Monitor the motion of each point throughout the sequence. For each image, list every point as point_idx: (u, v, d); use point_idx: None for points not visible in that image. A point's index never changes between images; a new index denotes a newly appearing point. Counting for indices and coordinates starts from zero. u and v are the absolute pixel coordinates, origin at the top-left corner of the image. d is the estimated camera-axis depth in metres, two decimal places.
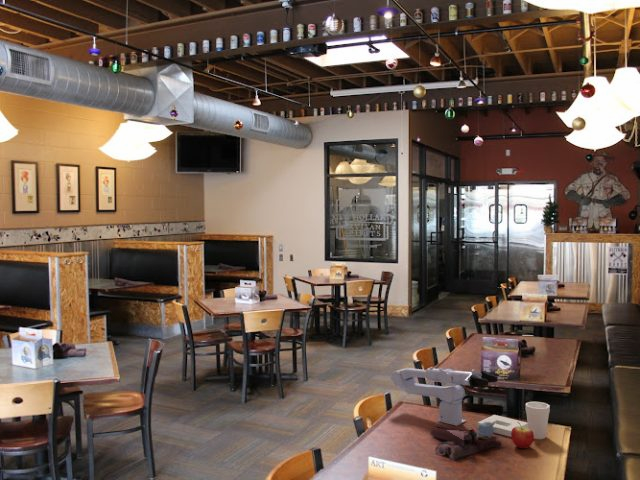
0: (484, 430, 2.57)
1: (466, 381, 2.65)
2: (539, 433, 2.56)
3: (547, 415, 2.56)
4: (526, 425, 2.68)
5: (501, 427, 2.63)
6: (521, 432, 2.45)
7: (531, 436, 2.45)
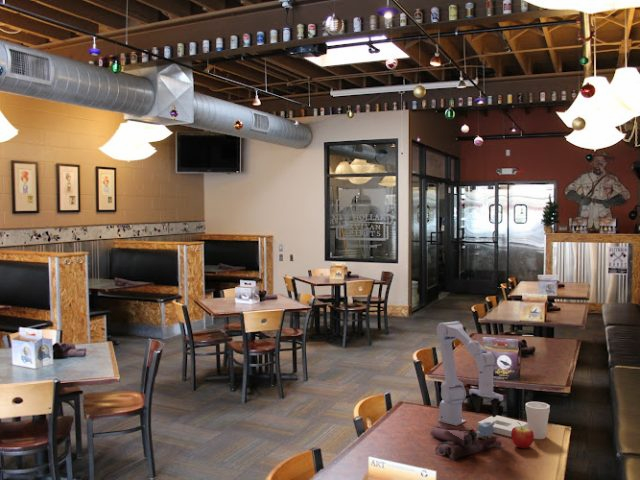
0: (484, 430, 2.57)
1: None
2: (539, 433, 2.56)
3: (547, 415, 2.56)
4: (526, 425, 2.68)
5: (501, 427, 2.63)
6: (521, 432, 2.45)
7: (531, 436, 2.45)
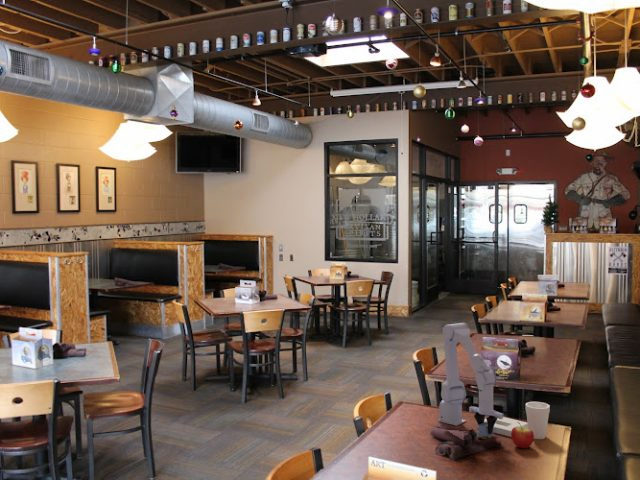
0: (484, 430, 2.57)
1: None
2: (539, 433, 2.56)
3: (547, 415, 2.56)
4: (526, 425, 2.68)
5: (501, 427, 2.63)
6: (521, 432, 2.45)
7: (531, 436, 2.45)
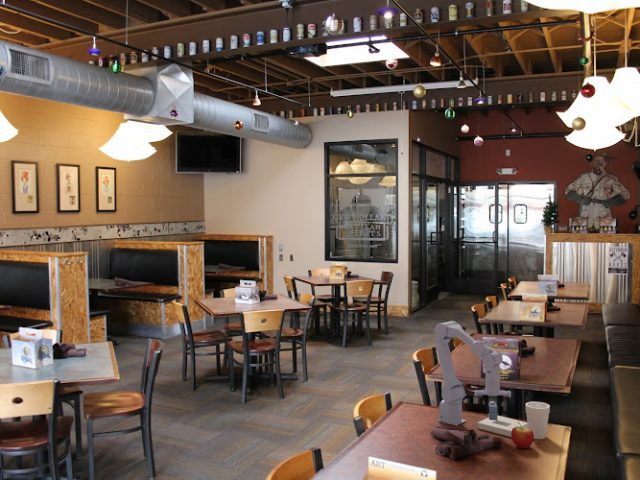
0: (496, 411, 2.60)
1: None
2: (539, 433, 2.56)
3: (547, 415, 2.56)
4: (526, 425, 2.68)
5: (501, 427, 2.63)
6: (521, 432, 2.45)
7: (531, 436, 2.45)
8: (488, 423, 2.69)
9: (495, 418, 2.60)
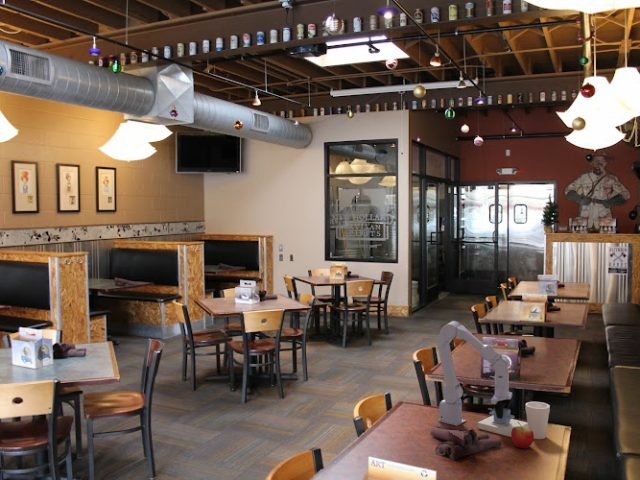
0: (509, 413, 2.67)
1: (494, 402, 2.63)
2: (539, 433, 2.56)
3: (547, 415, 2.56)
4: (526, 425, 2.68)
5: (501, 427, 2.63)
6: (521, 432, 2.45)
7: (531, 436, 2.45)
8: (488, 423, 2.69)
9: (509, 421, 2.67)
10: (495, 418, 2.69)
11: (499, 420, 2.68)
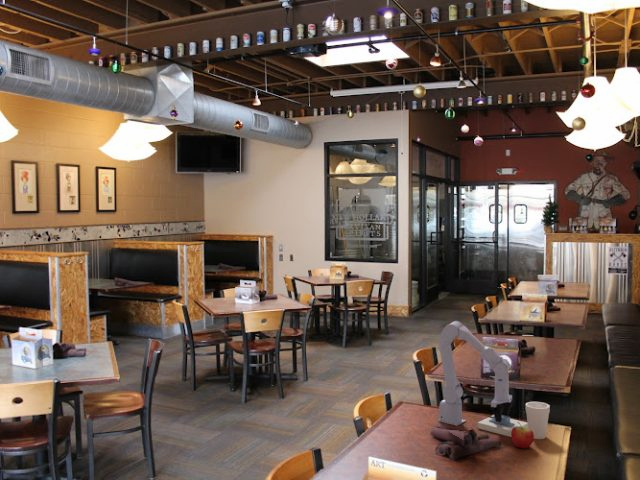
0: (509, 421, 2.68)
1: (494, 405, 2.63)
2: (539, 433, 2.56)
3: (547, 415, 2.56)
4: (526, 425, 2.68)
5: (501, 427, 2.63)
6: (521, 432, 2.45)
7: (531, 436, 2.45)
8: (488, 423, 2.69)
9: None
10: None
11: None
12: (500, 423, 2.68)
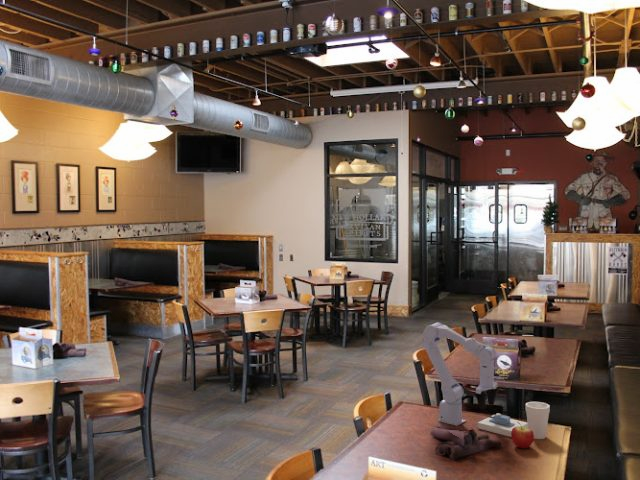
0: (509, 421, 2.68)
1: (479, 392, 2.64)
2: (539, 433, 2.56)
3: (547, 415, 2.56)
4: (526, 425, 2.68)
5: (501, 427, 2.63)
6: (521, 432, 2.45)
7: (531, 436, 2.45)
8: (488, 423, 2.69)
9: None
10: None
11: None
12: (500, 423, 2.68)
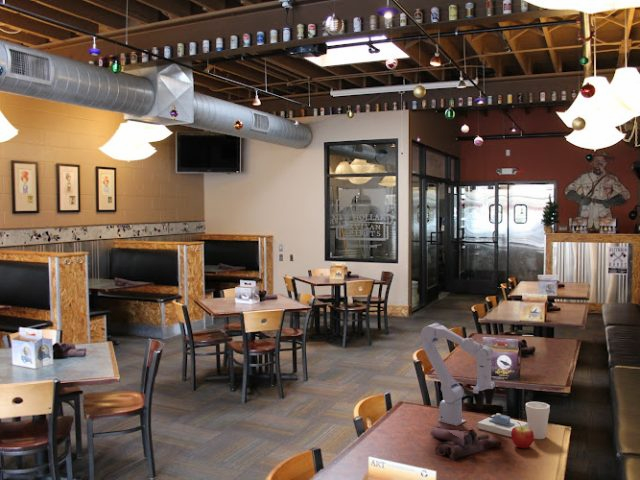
0: (509, 421, 2.68)
1: (476, 391, 2.64)
2: (539, 433, 2.56)
3: (547, 415, 2.56)
4: (526, 425, 2.68)
5: (501, 427, 2.63)
6: (521, 432, 2.45)
7: (531, 436, 2.45)
8: (488, 423, 2.69)
9: None
10: None
11: None
12: (500, 423, 2.68)
